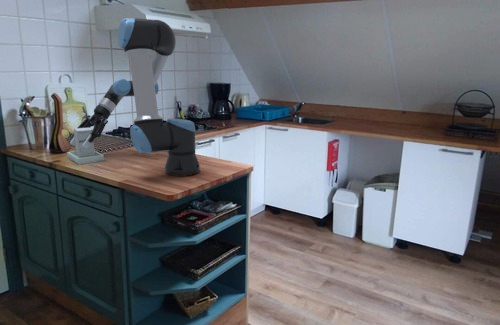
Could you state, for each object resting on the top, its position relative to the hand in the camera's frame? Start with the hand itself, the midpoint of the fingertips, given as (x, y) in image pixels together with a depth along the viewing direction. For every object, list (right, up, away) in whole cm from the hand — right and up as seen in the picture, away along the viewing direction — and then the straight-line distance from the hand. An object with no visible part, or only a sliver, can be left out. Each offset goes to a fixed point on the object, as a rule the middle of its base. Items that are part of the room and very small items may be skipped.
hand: (78, 145), depth 186 cm
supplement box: (+2, -4, +4) cm, 6 cm away
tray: (+2, -6, +4) cm, 8 cm away
